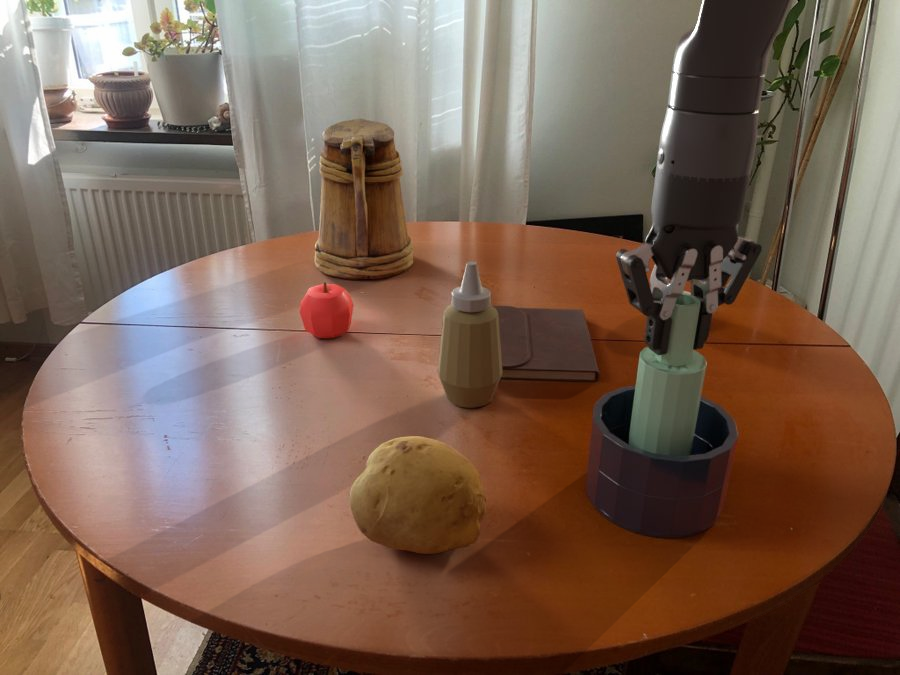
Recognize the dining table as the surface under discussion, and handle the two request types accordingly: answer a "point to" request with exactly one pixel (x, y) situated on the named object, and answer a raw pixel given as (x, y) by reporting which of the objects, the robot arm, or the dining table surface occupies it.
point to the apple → (326, 310)
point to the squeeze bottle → (470, 344)
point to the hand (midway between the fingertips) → (675, 347)
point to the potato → (418, 497)
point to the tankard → (361, 203)
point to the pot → (659, 471)
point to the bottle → (670, 388)
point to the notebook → (546, 344)
